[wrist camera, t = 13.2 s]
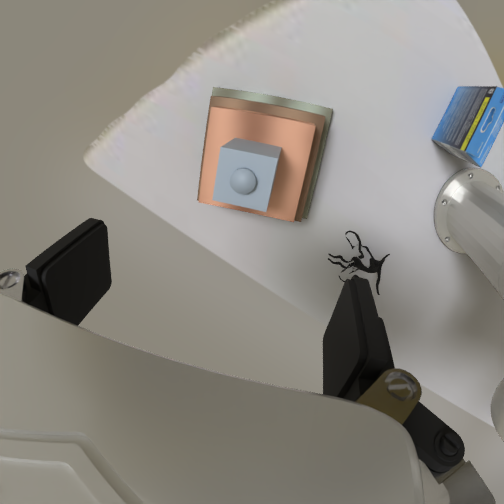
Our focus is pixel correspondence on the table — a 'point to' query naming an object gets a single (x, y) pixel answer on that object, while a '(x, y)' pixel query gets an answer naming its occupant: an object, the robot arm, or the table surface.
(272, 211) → the stepped plate stack
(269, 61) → the table surface
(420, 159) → the table surface
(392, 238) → the table surface
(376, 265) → the creature
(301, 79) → the table surface
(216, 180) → the slate brick
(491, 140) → the label tape box
